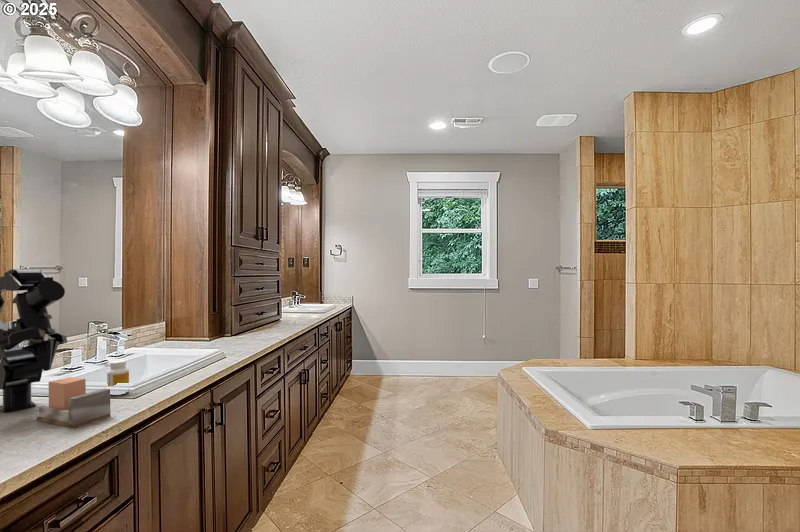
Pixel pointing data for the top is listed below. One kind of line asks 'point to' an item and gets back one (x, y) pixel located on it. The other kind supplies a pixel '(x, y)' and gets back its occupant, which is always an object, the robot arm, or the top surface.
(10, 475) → the top surface
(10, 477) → the top surface
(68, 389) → the peach knobbed cube
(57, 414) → the rail
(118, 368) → the supplement bottle
